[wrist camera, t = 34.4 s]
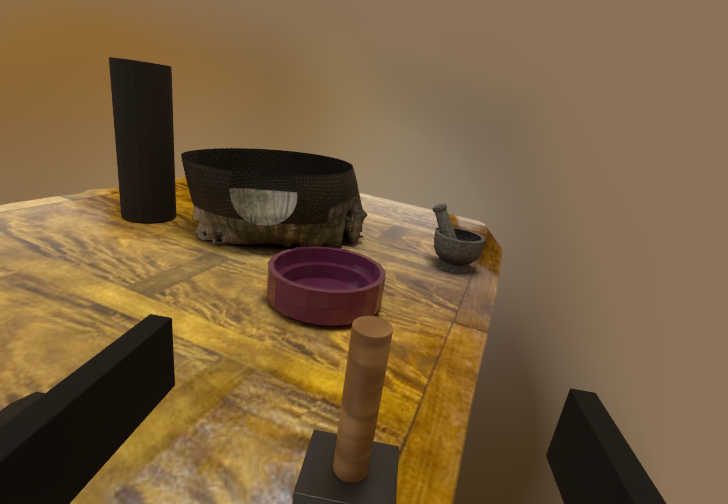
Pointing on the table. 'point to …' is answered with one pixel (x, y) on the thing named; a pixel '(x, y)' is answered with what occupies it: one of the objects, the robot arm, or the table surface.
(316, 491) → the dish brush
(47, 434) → the robot arm
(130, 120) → the vase
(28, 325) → the table surface
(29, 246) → the table surface
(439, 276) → the table surface
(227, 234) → the basket
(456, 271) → the mortar and pestle
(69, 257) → the table surface
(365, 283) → the bowl
